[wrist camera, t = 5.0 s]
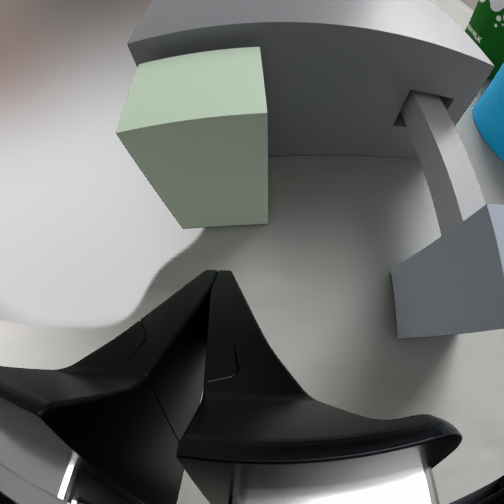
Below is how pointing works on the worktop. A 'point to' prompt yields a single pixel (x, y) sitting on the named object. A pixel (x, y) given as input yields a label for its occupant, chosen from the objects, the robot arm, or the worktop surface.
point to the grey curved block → (329, 64)
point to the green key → (202, 135)
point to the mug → (492, 114)
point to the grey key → (450, 237)
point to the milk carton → (489, 31)
